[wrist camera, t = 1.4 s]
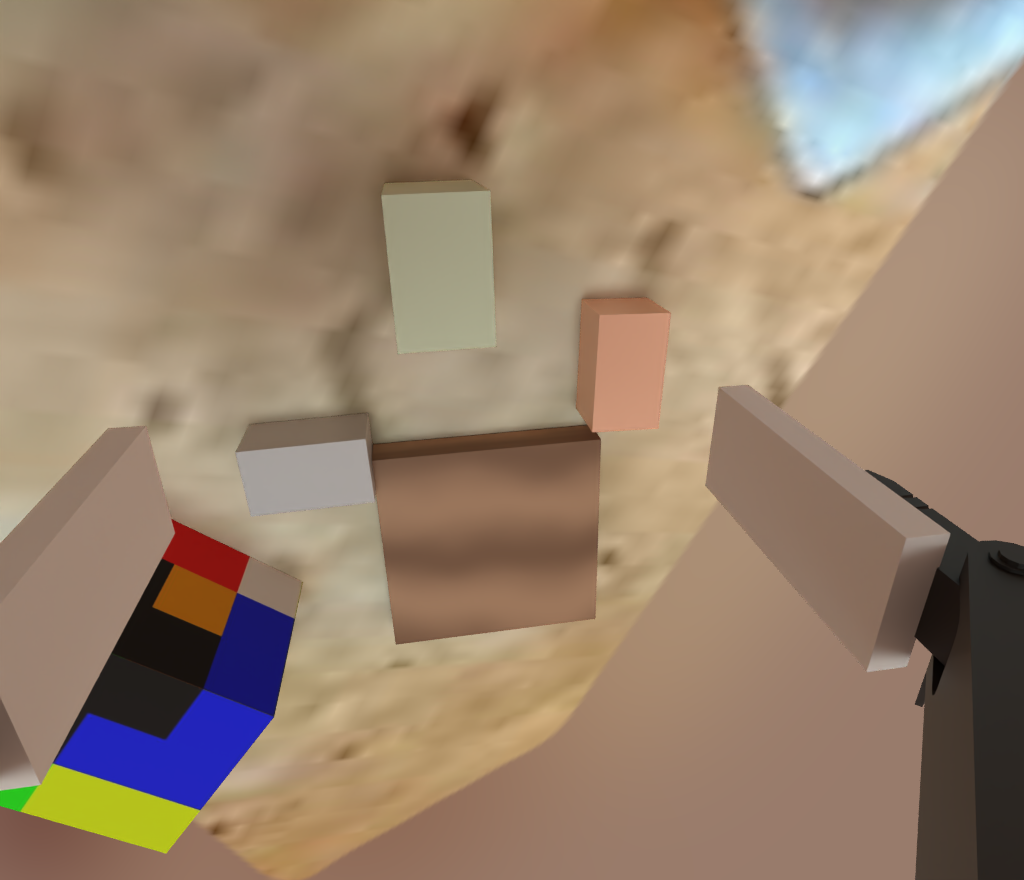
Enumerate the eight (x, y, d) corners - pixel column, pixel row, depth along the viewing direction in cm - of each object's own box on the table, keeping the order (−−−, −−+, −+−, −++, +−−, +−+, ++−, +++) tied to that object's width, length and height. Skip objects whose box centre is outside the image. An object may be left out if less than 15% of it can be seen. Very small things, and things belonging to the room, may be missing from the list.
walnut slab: (372, 444, 35) (371, 460, 34) (590, 424, 37) (600, 439, 35) (395, 621, 41) (395, 644, 39) (586, 598, 42) (595, 618, 40)
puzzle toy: (302, 581, 38) (274, 716, 29) (216, 695, 41) (166, 853, 32) (132, 499, 35) (39, 625, 26) (48, 630, 37) (-63, 787, 28)
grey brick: (263, 482, 36) (250, 516, 32) (250, 423, 34) (235, 452, 31) (376, 470, 36) (374, 502, 33) (368, 411, 35) (365, 438, 32)
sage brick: (384, 182, 30) (381, 195, 24) (471, 179, 31) (490, 190, 25) (397, 312, 33) (397, 354, 27) (477, 307, 33) (496, 347, 27)
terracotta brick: (581, 298, 34) (599, 315, 31) (645, 296, 35) (670, 312, 32) (575, 407, 37) (592, 432, 34) (636, 403, 37) (658, 428, 34)
